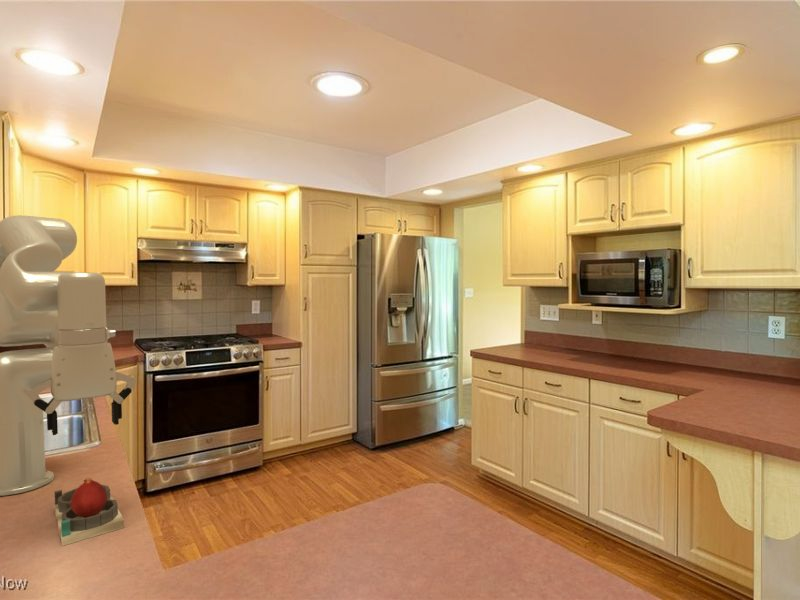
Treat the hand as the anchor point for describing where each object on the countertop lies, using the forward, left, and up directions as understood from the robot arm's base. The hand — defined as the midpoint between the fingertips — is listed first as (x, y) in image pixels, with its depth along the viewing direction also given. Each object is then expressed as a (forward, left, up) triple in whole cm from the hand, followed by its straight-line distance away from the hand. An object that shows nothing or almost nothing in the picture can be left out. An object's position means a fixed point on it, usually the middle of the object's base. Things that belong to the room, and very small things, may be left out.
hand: (86, 428), depth 90 cm
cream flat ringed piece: (-4, 0, -19) cm, 19 cm away
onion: (0, 0, -18) cm, 18 cm away
